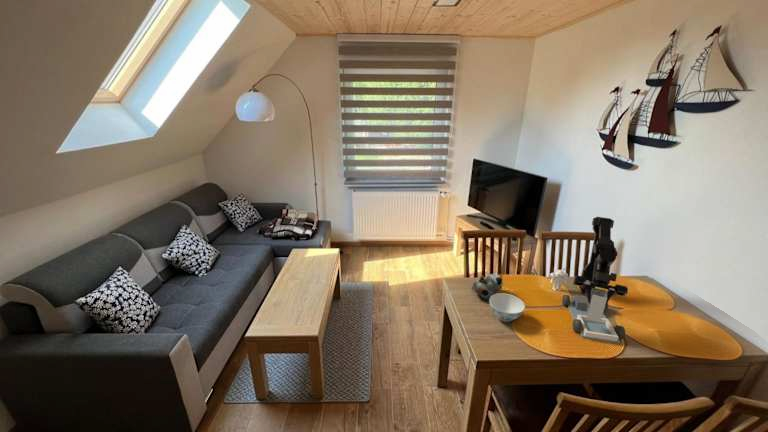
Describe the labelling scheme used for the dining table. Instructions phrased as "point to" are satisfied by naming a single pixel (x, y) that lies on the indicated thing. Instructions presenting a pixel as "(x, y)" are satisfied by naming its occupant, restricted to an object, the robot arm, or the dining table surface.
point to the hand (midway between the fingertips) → (596, 305)
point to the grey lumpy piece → (488, 285)
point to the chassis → (591, 321)
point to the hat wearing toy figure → (558, 278)
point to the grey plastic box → (596, 304)
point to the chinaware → (506, 306)
